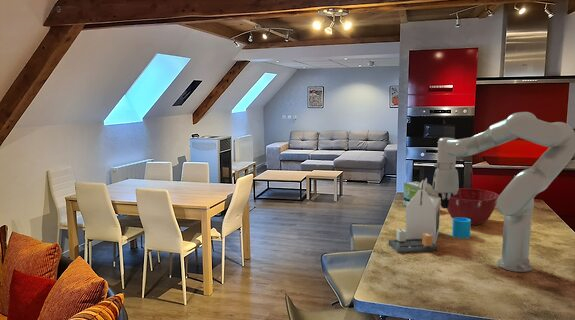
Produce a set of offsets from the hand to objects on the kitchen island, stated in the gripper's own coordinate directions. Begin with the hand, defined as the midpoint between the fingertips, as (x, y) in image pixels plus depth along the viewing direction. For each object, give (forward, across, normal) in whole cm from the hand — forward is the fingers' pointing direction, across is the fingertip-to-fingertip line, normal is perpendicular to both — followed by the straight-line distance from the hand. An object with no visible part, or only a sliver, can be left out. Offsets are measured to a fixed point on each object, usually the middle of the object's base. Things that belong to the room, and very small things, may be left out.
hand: (444, 207), depth 202 cm
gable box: (+20, -1, +19) cm, 27 cm away
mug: (+19, +19, +19) cm, 33 cm away
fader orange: (+17, -7, 0) cm, 18 cm away
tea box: (+19, +19, +75) cm, 80 cm away
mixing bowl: (+19, +34, +41) cm, 56 cm away
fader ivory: (+17, -16, +8) cm, 25 cm away
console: (+19, -12, +4) cm, 23 cm away
